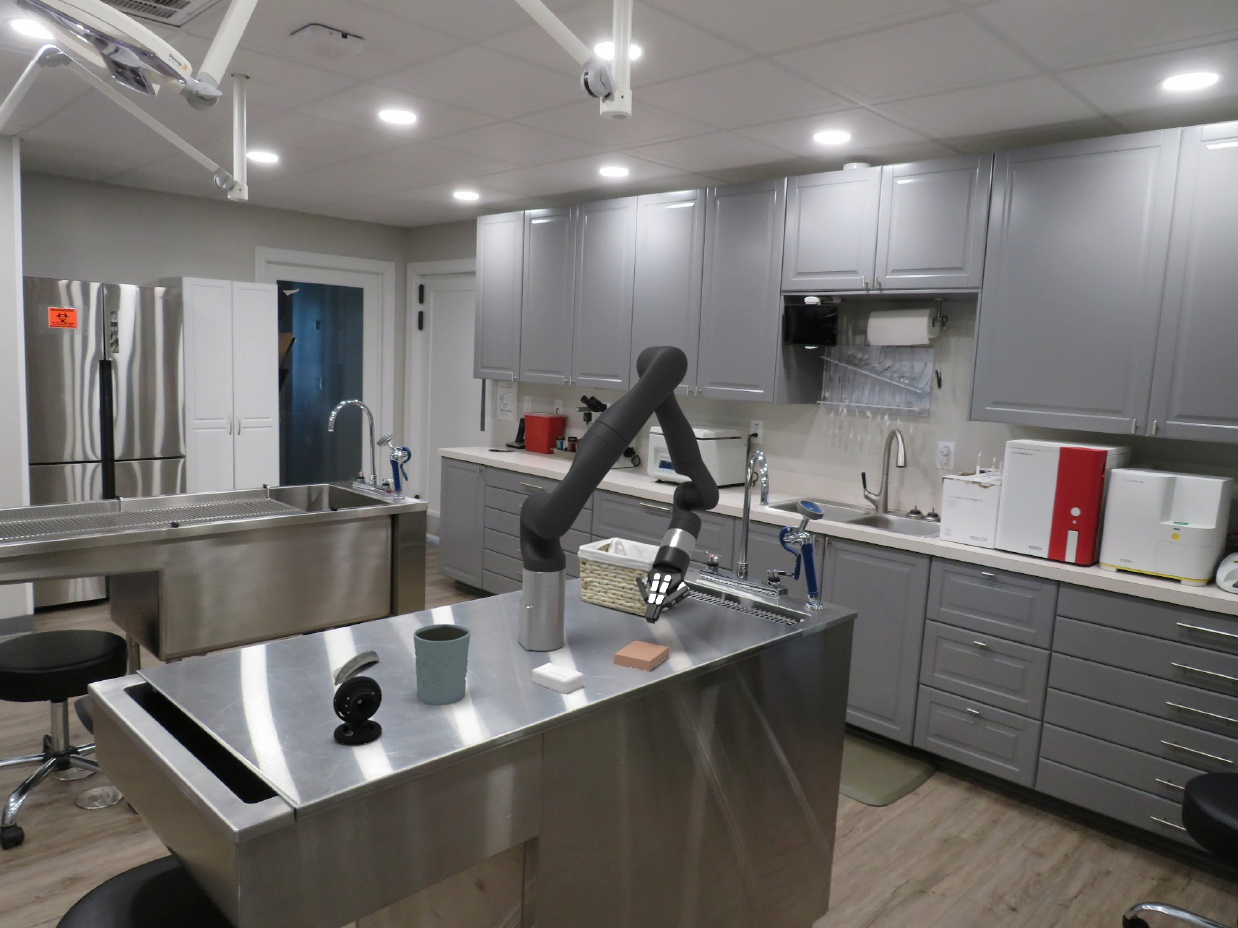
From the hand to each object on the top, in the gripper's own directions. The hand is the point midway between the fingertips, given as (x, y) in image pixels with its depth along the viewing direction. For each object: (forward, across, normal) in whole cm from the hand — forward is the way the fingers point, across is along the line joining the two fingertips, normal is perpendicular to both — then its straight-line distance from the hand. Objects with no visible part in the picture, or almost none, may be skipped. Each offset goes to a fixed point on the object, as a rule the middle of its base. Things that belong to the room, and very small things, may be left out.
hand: (649, 621), depth 176 cm
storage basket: (-17, -20, +28) cm, 38 cm away
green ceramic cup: (+33, -24, -22) cm, 46 cm away
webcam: (+47, -25, -36) cm, 64 cm away
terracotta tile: (+3, 0, +6) cm, 7 cm away
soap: (+22, -8, -11) cm, 26 cm away
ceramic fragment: (+33, -45, -22) cm, 60 cm away
